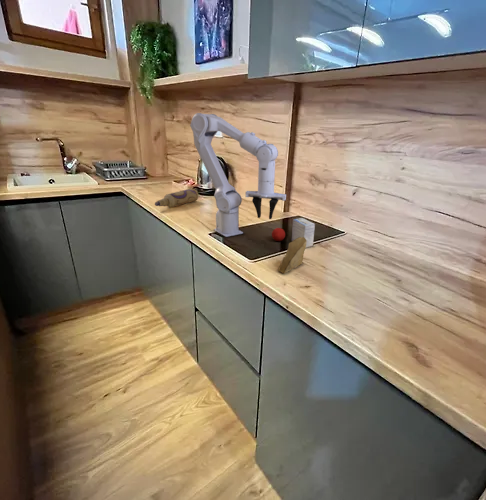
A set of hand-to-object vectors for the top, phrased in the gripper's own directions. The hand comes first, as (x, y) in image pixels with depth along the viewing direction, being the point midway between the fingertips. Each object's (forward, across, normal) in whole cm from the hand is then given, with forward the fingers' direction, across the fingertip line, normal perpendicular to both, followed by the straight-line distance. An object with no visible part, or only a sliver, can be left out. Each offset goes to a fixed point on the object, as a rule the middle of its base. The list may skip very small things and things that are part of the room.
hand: (264, 217), depth 112 cm
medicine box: (+9, +14, 0) cm, 17 cm away
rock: (+9, +13, -21) cm, 26 cm away
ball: (+6, +6, 0) cm, 8 cm away
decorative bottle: (+9, -54, +33) cm, 64 cm away
